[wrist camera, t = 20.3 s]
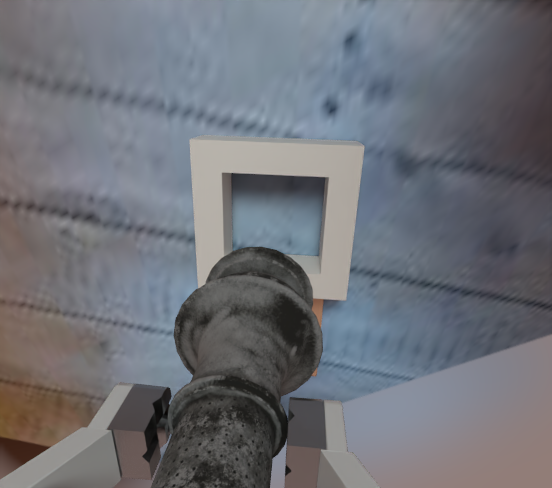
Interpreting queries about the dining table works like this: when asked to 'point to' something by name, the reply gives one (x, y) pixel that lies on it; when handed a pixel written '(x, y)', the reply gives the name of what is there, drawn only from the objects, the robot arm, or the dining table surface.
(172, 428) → the dark turned stone ornament
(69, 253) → the dining table surface
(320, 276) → the socket block
